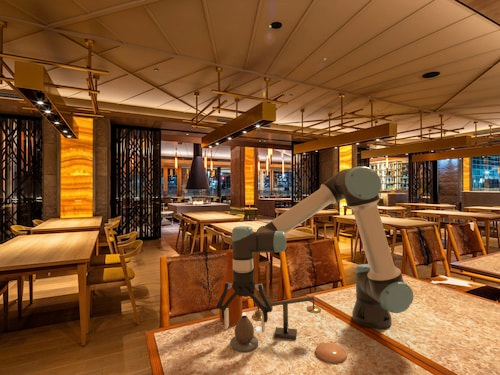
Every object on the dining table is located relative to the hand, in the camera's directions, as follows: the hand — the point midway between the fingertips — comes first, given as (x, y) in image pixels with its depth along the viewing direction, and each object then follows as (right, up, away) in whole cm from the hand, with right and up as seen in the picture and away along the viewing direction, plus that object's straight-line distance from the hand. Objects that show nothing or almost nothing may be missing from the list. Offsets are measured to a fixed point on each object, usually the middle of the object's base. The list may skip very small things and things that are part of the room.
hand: (244, 329), depth 100 cm
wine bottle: (-6, -6, +18) cm, 20 cm away
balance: (+15, -5, +6) cm, 17 cm away
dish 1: (0, -5, 0) cm, 5 cm away
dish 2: (+29, -5, -7) cm, 30 cm away
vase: (0, -5, 0) cm, 5 cm away
